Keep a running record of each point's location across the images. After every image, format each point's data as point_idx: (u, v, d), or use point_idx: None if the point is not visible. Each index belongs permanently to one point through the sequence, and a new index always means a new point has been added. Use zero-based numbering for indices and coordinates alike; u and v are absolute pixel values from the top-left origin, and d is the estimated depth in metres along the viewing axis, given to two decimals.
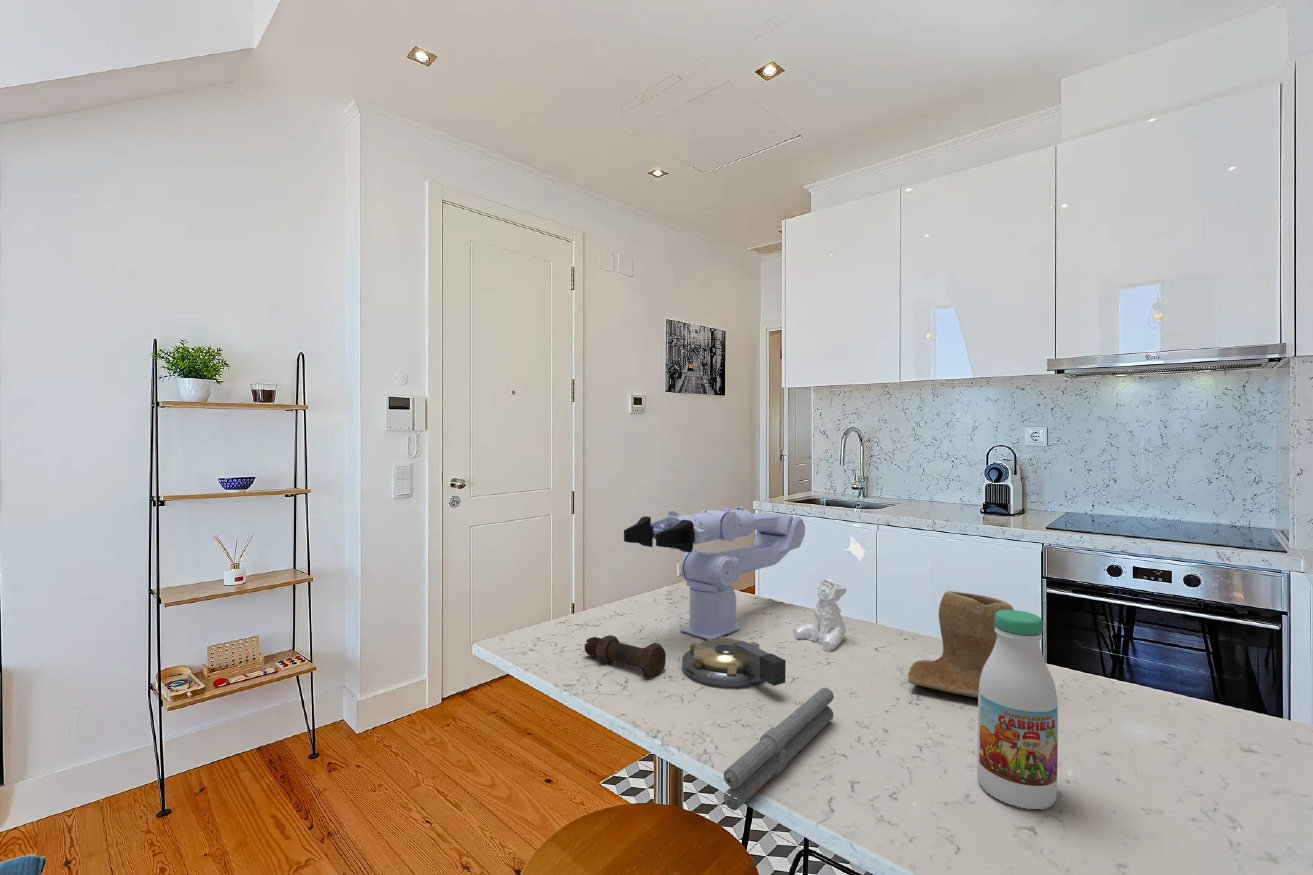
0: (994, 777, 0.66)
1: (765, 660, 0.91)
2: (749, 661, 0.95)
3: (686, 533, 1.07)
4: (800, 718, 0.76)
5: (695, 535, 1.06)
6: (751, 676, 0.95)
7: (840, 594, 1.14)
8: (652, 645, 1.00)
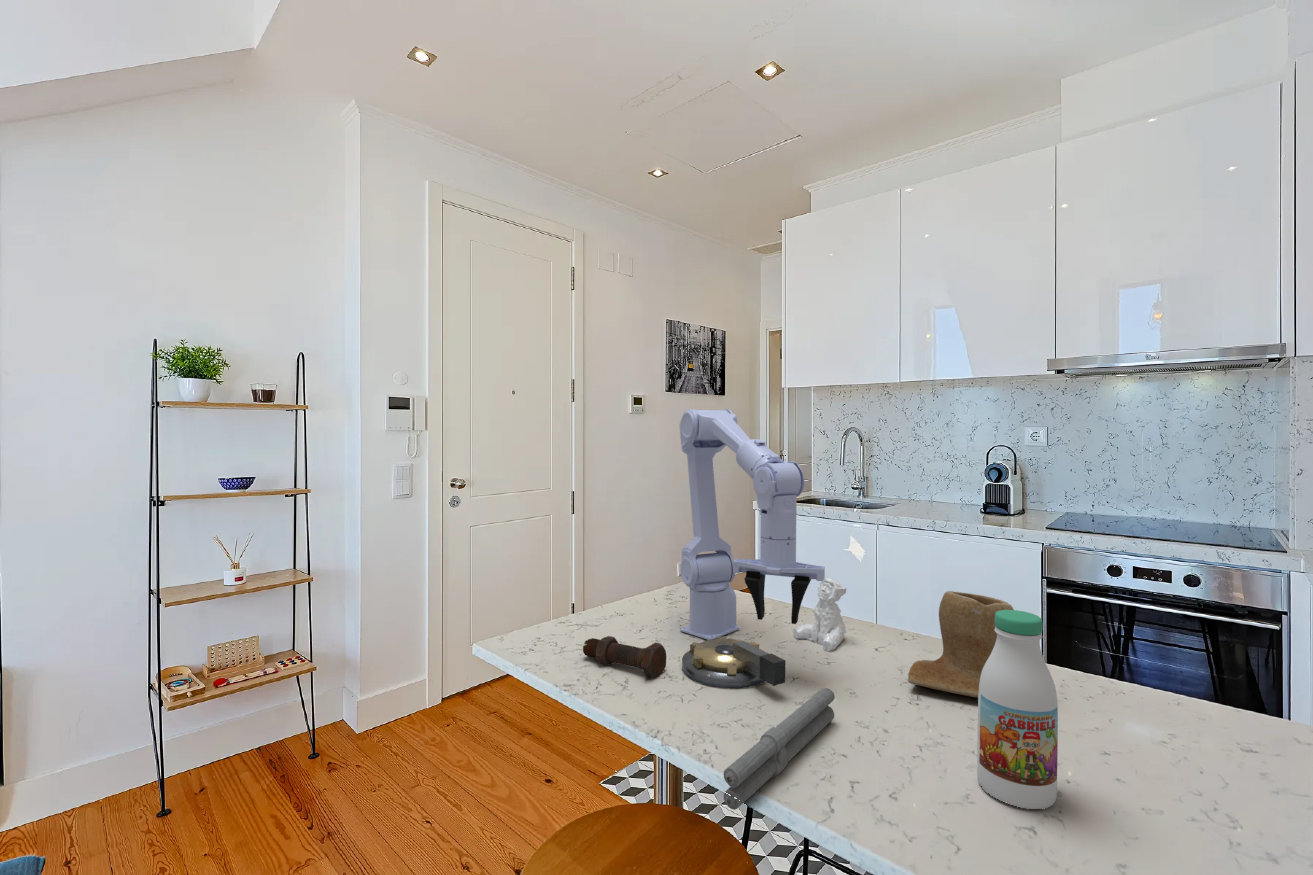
0: (994, 777, 0.66)
1: (765, 660, 0.91)
2: (749, 661, 0.95)
3: None
4: (801, 717, 0.76)
5: None
6: (751, 676, 0.95)
7: (840, 594, 1.14)
8: (653, 645, 0.99)
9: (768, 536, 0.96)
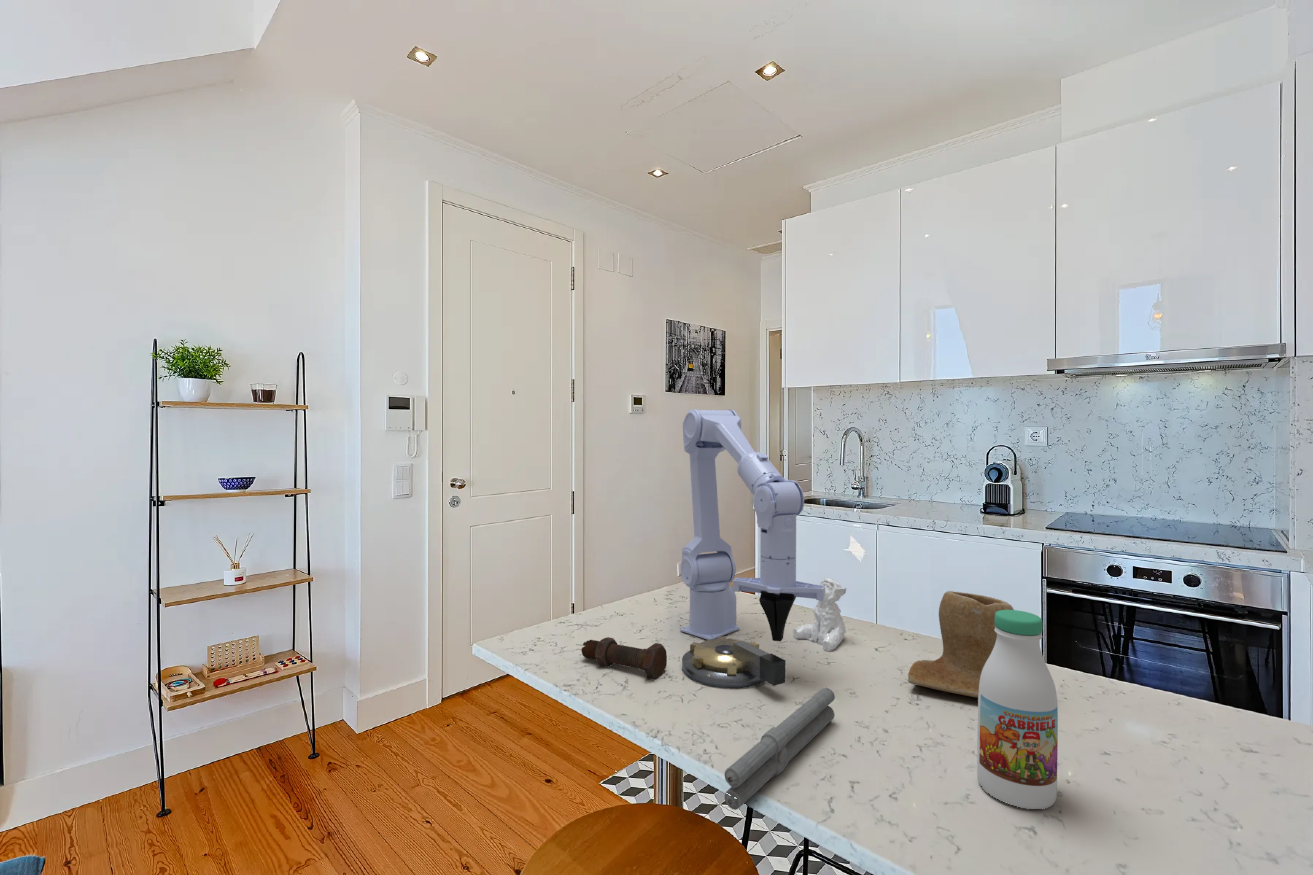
0: (994, 777, 0.66)
1: (765, 660, 0.91)
2: (749, 661, 0.95)
3: None
4: (801, 717, 0.76)
5: None
6: (751, 676, 0.95)
7: (840, 594, 1.14)
8: (654, 645, 0.99)
9: (768, 555, 0.96)
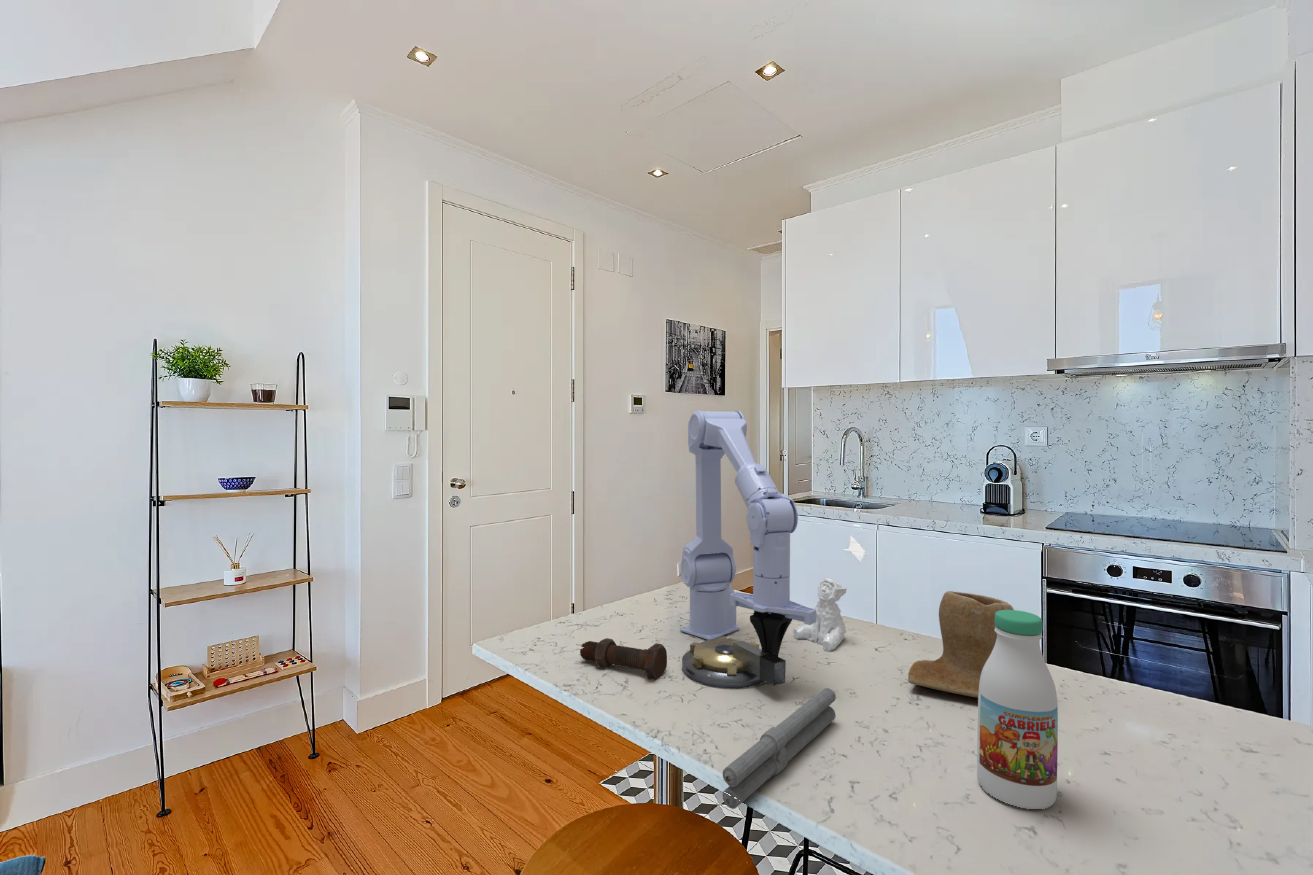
0: (994, 777, 0.66)
1: (765, 660, 0.91)
2: (749, 661, 0.95)
3: None
4: (801, 718, 0.76)
5: None
6: (751, 676, 0.95)
7: (840, 594, 1.14)
8: (655, 646, 0.99)
9: (760, 574, 0.94)
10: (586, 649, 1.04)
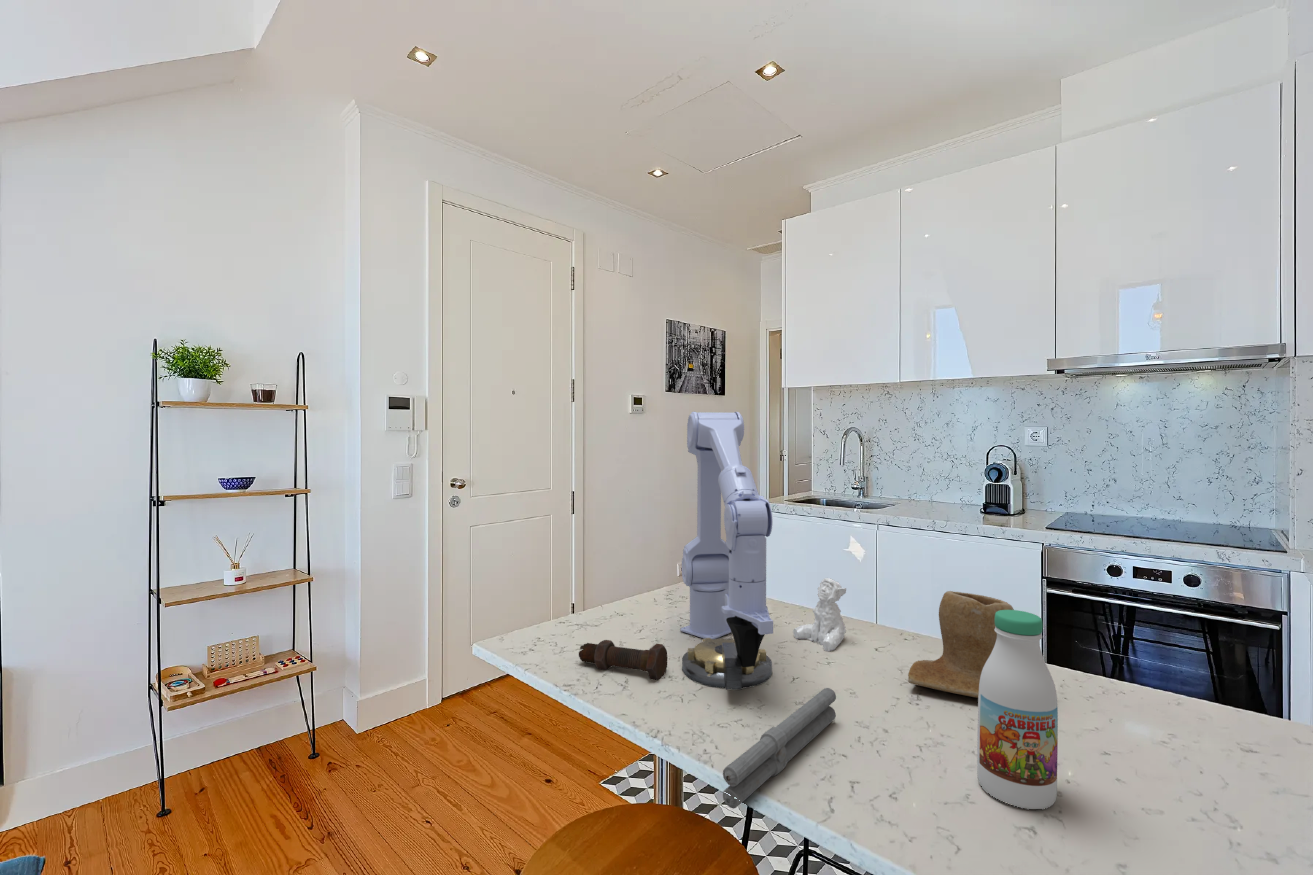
0: (994, 777, 0.66)
1: (724, 662, 0.91)
2: None
3: None
4: (801, 717, 0.76)
5: None
6: (751, 676, 0.95)
7: (840, 594, 1.14)
8: (656, 646, 0.99)
9: (732, 577, 0.92)
10: (585, 651, 1.03)
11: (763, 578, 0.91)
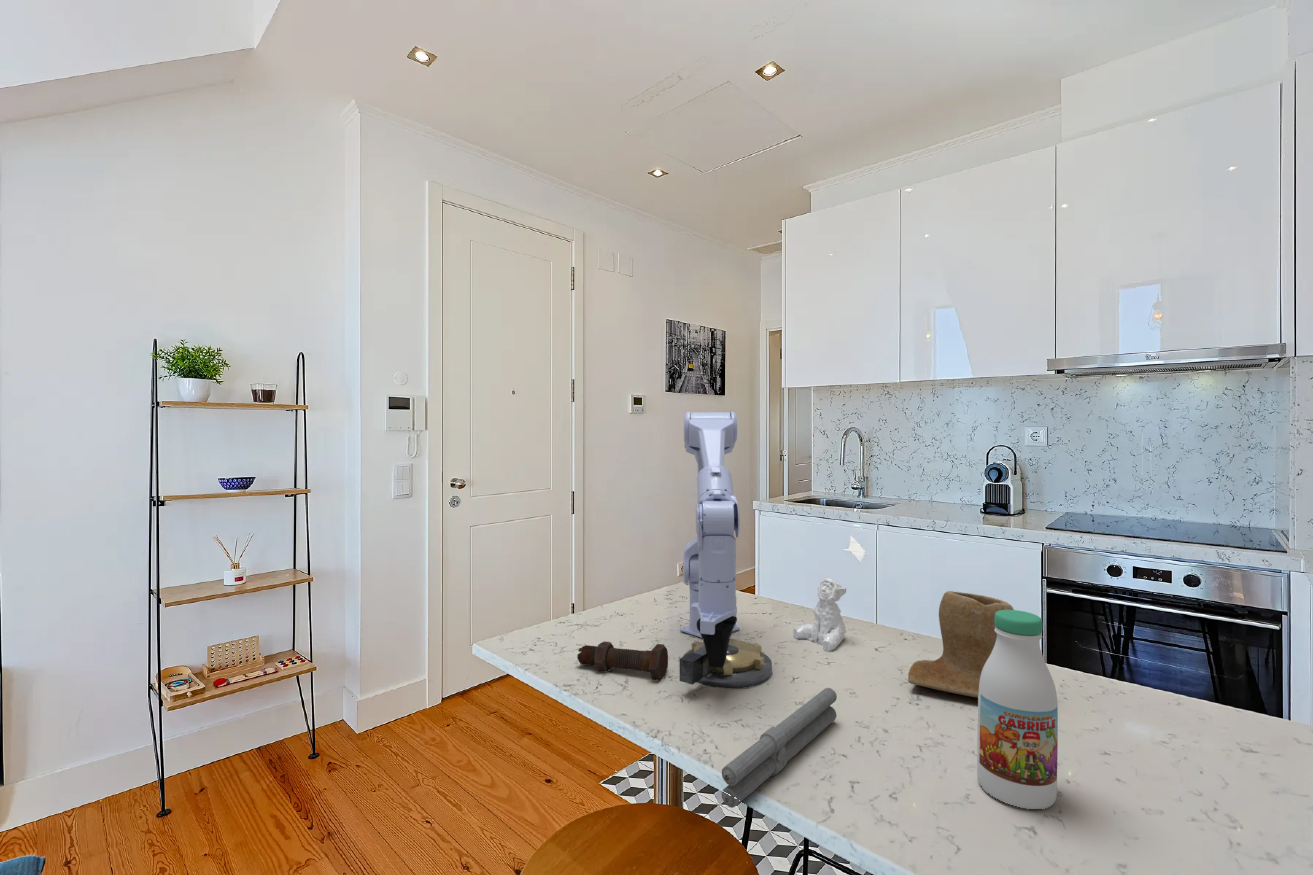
0: (994, 777, 0.66)
1: None
2: None
3: None
4: (801, 717, 0.76)
5: None
6: (751, 676, 0.95)
7: (840, 594, 1.14)
8: (657, 646, 0.99)
9: (700, 576, 0.92)
10: (584, 653, 1.02)
11: (730, 579, 0.91)
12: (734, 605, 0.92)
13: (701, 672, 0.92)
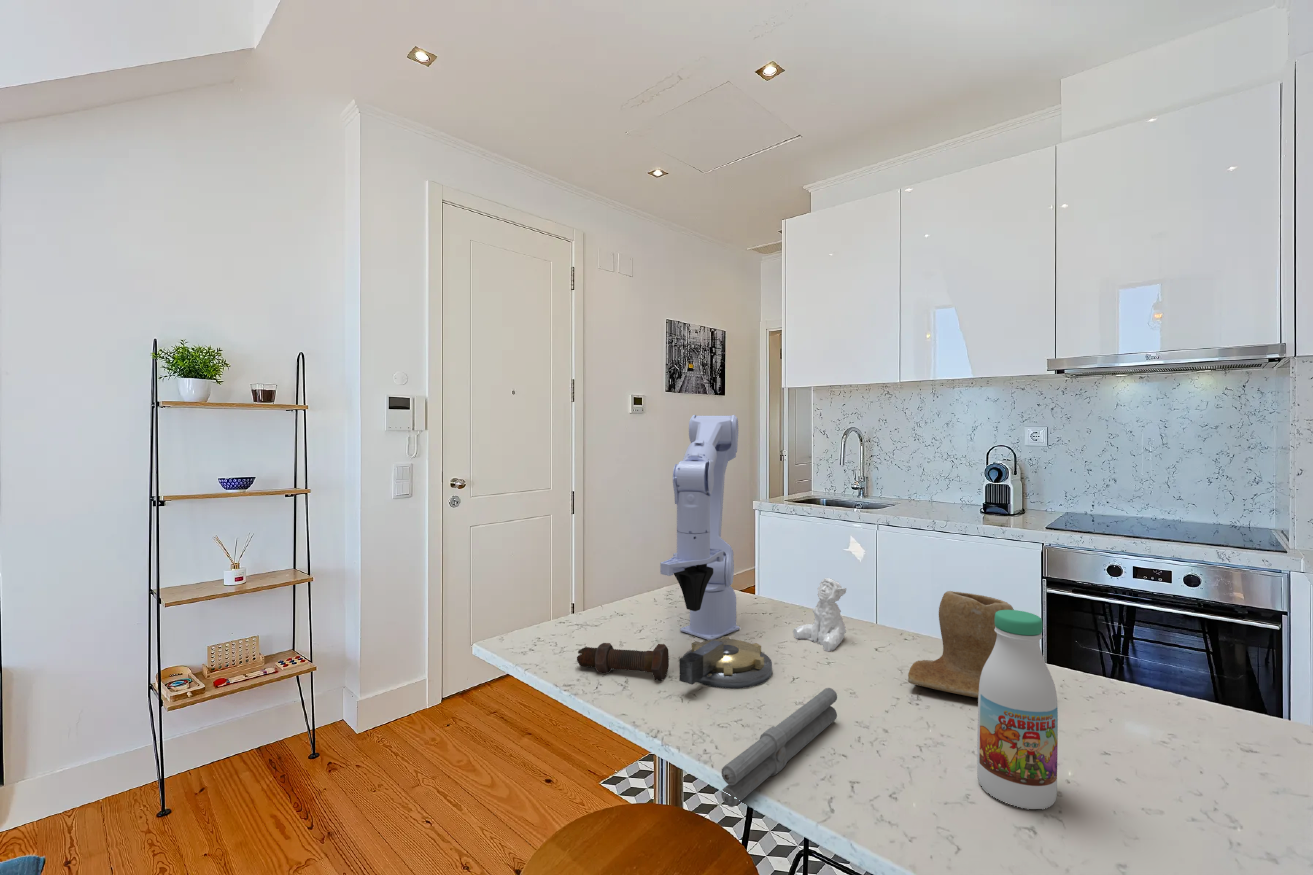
0: (994, 777, 0.66)
1: None
2: None
3: None
4: (802, 717, 0.76)
5: None
6: (751, 676, 0.95)
7: (840, 594, 1.14)
8: (659, 646, 0.99)
9: (677, 528, 1.03)
10: (584, 655, 1.01)
11: (702, 531, 1.01)
12: (704, 556, 1.02)
13: (701, 672, 0.92)
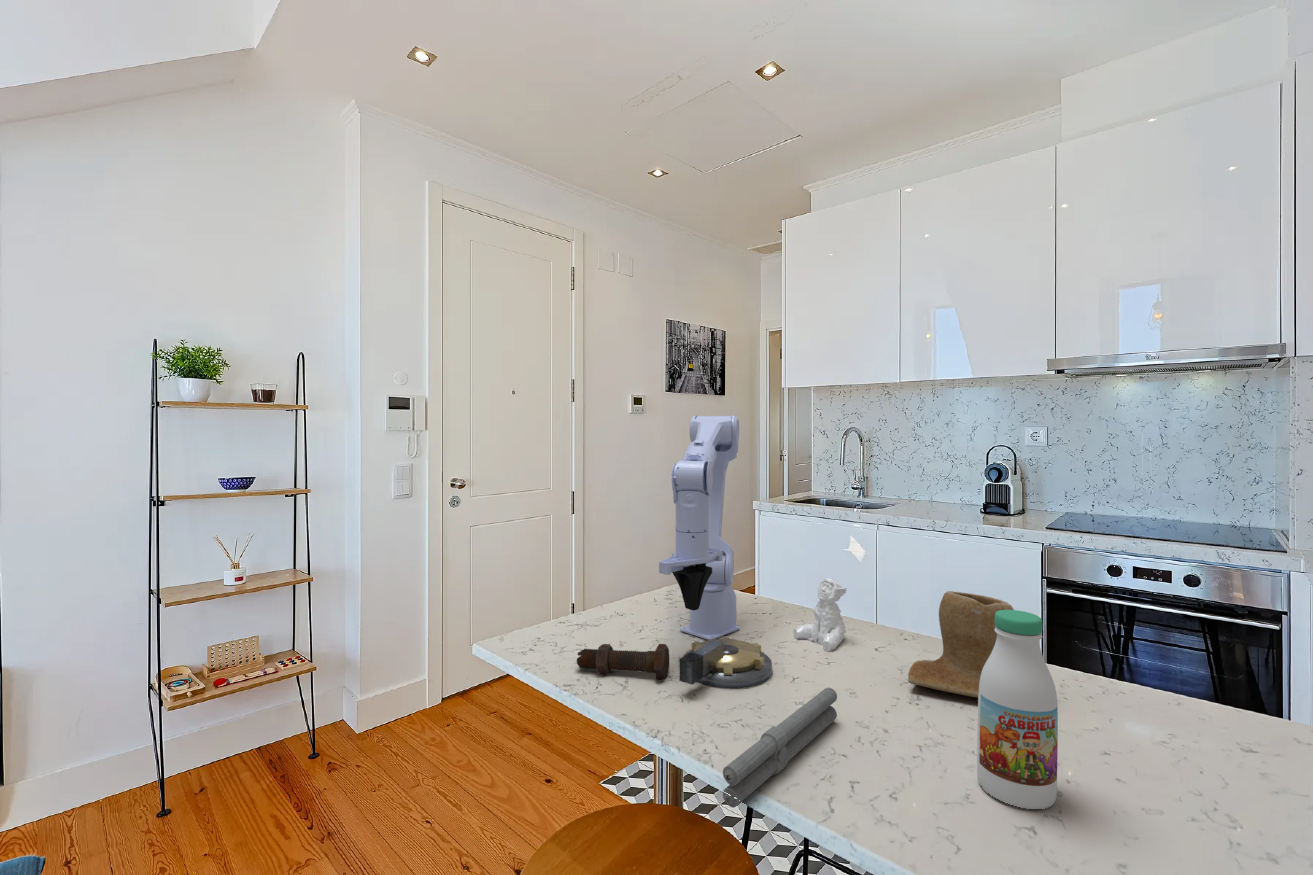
0: (994, 777, 0.66)
1: None
2: None
3: None
4: (802, 717, 0.76)
5: None
6: (751, 676, 0.95)
7: (840, 594, 1.14)
8: (660, 646, 0.99)
9: (676, 528, 1.04)
10: (584, 657, 1.00)
11: (700, 530, 1.01)
12: (703, 555, 1.02)
13: (701, 672, 0.92)
